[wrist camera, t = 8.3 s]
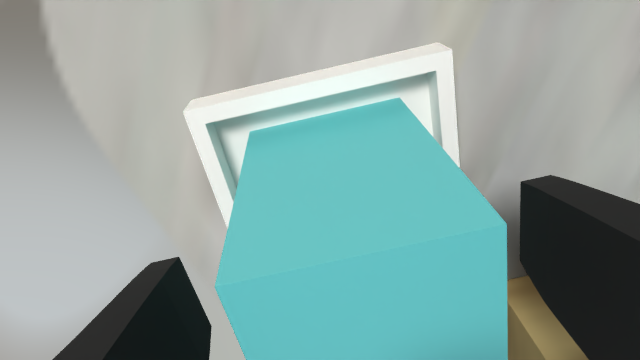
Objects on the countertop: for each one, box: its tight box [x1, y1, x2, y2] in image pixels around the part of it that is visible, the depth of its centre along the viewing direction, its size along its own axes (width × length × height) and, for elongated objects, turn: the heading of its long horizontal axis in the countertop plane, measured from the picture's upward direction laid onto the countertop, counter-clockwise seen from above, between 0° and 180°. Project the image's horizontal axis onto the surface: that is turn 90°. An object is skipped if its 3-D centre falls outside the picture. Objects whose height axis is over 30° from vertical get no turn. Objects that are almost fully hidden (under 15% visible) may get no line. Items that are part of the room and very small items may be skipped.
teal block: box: [215, 97, 508, 360], centre depth 9 cm, size 4×4×6 cm
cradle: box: [183, 42, 460, 228], centre depth 12 cm, size 6×6×1 cm
